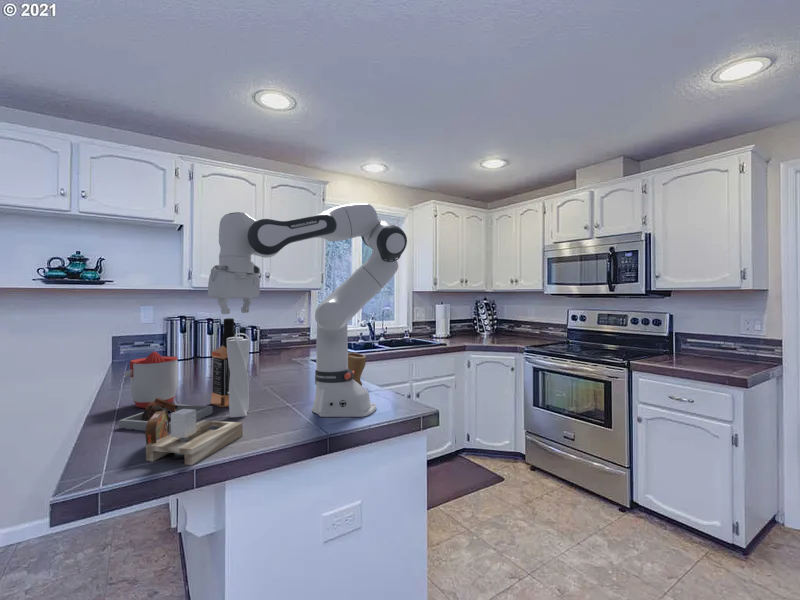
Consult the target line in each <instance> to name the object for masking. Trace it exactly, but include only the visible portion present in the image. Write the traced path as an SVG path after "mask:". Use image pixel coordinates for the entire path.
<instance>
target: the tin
mask: <svg viewBox="0 0 800 600" xmlns="http://www.w3.org/2000/svg"><path fill="white" fill-rule="evenodd" d="M169 422H170V417H169V412H167V411H166V410H165V411H159V412H155V413H154V414H153V416H152V417H151V418H150V419H149V421H148V422H147V425H146V429H145V430H144V433H145V434H144V436H145V446H146V445H148V444H150V443H157V442H156V441H157V440H159V439H161V438H164V437H166V436H168V435H170V432H169Z"/></svg>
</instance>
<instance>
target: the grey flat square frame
mask: <svg viewBox="0 0 800 600" xmlns="http://www.w3.org/2000/svg"><path fill="white" fill-rule="evenodd" d="M175 404H176V403H175ZM176 405H177V406H178V407H177V409H176V410H177V411H178V410H181V409H193V410H196V421H199V420H201V419H203V418H205V416H206V417H208V416H210V415H212V414H213V406H212V405H199V404H198V405H197V404H194V405H193V404H178V403H177V404H176ZM165 410H166V411H167V412H168V411H170V413H173V412H172V411H171V410H168V409H166V408H163V410H162V411H165ZM143 413H144V411H143V412H139V413H136V414H133V415H130V416H128V417H124V418H122V419H119V420H118V429H119V428H126V429H125V430H132V429H134V431H145V429H146V425H147V422H148V421H141V419H142V415H143ZM168 413H169V412H168ZM198 419H199V420H198ZM169 433H171V421H169Z"/></svg>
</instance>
